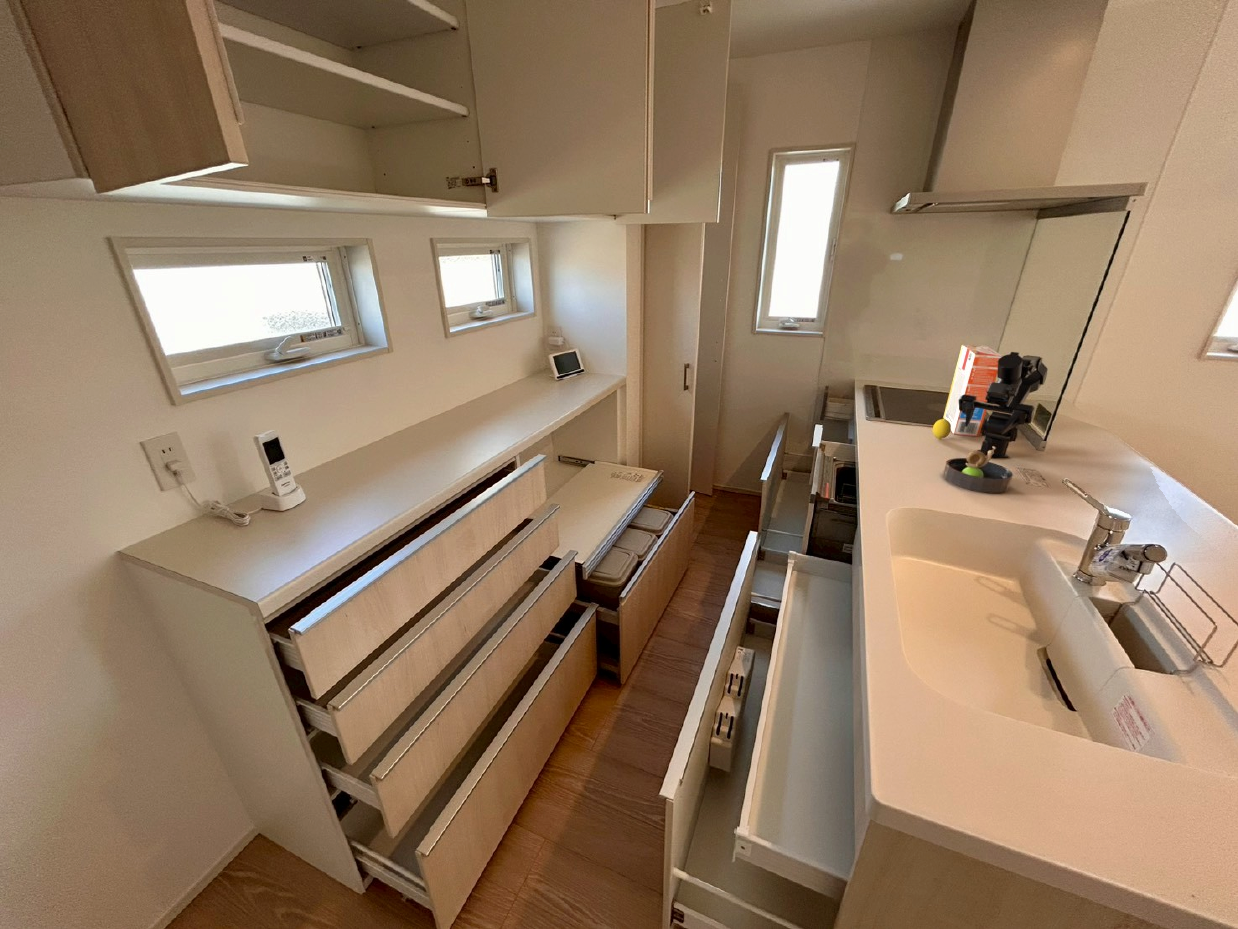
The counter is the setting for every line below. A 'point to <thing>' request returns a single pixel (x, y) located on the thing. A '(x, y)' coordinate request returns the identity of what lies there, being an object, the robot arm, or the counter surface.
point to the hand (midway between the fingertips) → (983, 429)
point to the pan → (991, 482)
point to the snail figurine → (977, 462)
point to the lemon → (941, 428)
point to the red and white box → (971, 386)
